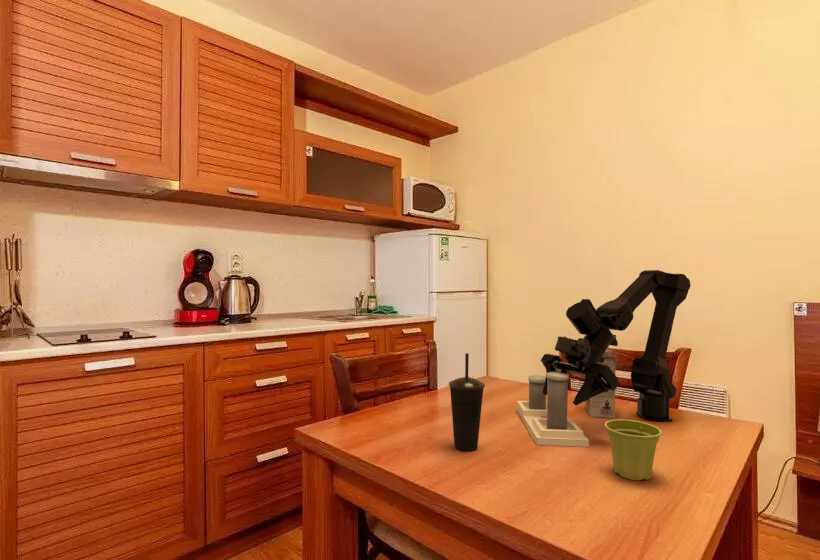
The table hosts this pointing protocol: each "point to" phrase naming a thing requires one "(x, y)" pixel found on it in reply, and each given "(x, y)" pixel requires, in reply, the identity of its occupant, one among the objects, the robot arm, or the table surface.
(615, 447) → the plant pot
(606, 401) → the coffee box
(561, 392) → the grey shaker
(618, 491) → the table surface
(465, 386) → the drinking cup
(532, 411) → the peg insertion board
